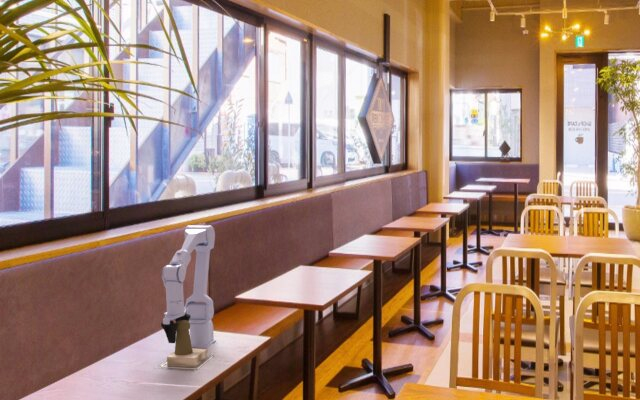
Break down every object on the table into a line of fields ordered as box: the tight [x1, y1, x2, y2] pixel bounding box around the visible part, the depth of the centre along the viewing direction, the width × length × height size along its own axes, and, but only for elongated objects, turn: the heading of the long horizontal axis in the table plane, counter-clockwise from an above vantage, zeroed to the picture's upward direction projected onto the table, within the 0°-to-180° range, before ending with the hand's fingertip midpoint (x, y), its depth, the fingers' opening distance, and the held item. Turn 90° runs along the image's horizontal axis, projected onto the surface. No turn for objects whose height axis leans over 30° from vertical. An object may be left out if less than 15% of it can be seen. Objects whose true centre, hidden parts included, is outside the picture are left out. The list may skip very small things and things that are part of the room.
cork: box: [174, 320, 193, 355], centre depth 227 cm, size 6×6×11 cm
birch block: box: [166, 347, 208, 367], centre depth 227 cm, size 10×10×3 cm
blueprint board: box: [155, 354, 215, 372], centre depth 228 cm, size 16×15×1 cm
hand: (177, 339), depth 228 cm, fingers open, 7 cm apart
